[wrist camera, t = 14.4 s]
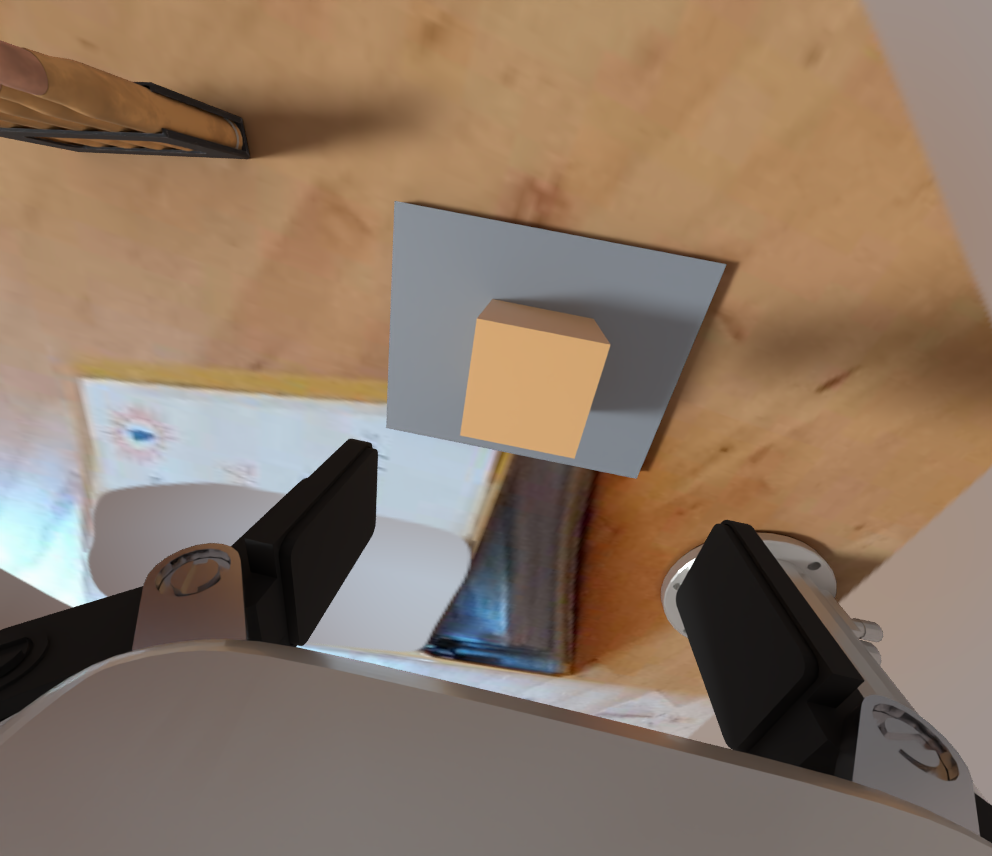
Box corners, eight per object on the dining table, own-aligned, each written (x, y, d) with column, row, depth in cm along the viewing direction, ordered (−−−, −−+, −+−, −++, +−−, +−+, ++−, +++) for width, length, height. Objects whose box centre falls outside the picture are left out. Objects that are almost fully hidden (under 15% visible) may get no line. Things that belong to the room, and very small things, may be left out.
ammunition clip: (243, 117, 20) (-93, -20, 9) (252, 159, 21) (-49, 76, 10) (62, 111, 21) (-438, -23, 10) (77, 151, 22) (-370, 68, 11)
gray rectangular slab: (718, 263, 21) (761, 269, 17) (633, 470, 27) (649, 510, 23) (400, 202, 21) (368, 194, 17) (391, 421, 27) (365, 452, 23)
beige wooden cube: (593, 318, 22) (610, 344, 16) (567, 410, 25) (574, 458, 19) (492, 299, 22) (476, 318, 17) (477, 392, 25) (460, 435, 19)
